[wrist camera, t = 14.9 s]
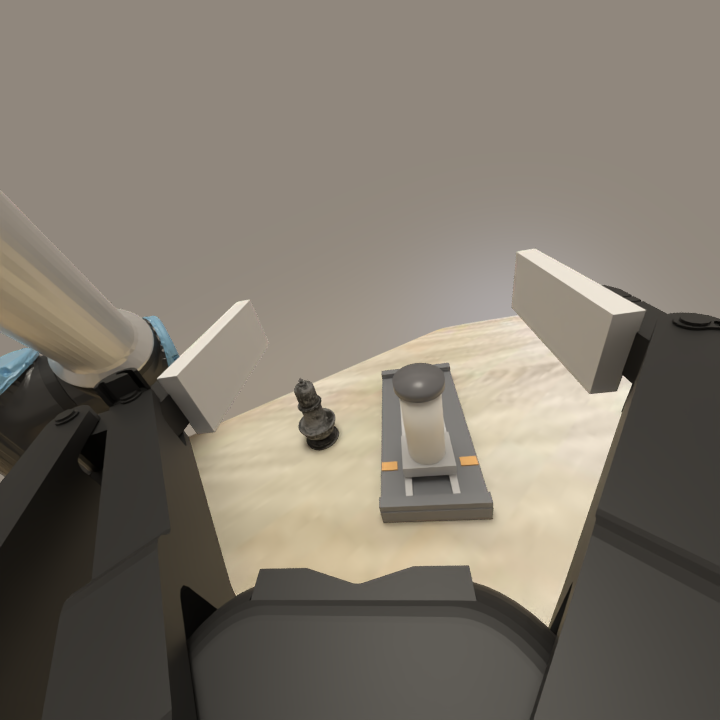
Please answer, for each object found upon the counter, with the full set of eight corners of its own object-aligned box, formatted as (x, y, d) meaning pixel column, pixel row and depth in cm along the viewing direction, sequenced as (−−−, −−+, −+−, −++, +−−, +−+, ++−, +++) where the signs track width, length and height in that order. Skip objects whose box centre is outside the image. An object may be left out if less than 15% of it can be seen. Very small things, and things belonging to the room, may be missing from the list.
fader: (404, 478, 34) (388, 398, 28) (402, 443, 39) (388, 366, 32) (456, 475, 33) (453, 391, 27) (448, 439, 38) (444, 359, 31)
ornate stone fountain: (298, 443, 47) (271, 385, 41) (322, 419, 51) (300, 362, 44) (323, 457, 44) (298, 397, 37) (347, 430, 47) (328, 371, 41)
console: (383, 522, 34) (379, 508, 32) (384, 383, 55) (381, 370, 54) (492, 518, 32) (493, 503, 30) (449, 375, 53) (448, 362, 52)
